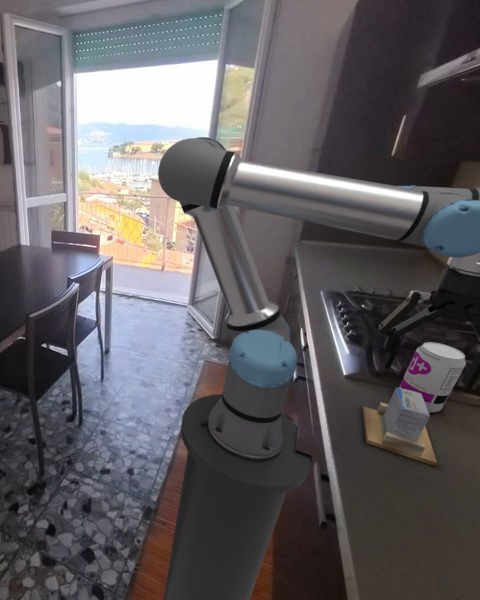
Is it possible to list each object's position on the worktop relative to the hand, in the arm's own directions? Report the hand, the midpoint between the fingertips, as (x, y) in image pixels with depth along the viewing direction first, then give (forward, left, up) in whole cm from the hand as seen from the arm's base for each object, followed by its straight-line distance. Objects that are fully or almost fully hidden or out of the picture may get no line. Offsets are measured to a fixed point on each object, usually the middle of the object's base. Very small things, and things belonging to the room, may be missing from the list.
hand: (424, 374), depth 70 cm
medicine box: (0, 0, -15) cm, 15 cm away
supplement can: (+6, +16, -16) cm, 24 cm away
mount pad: (0, 0, -16) cm, 16 cm away
